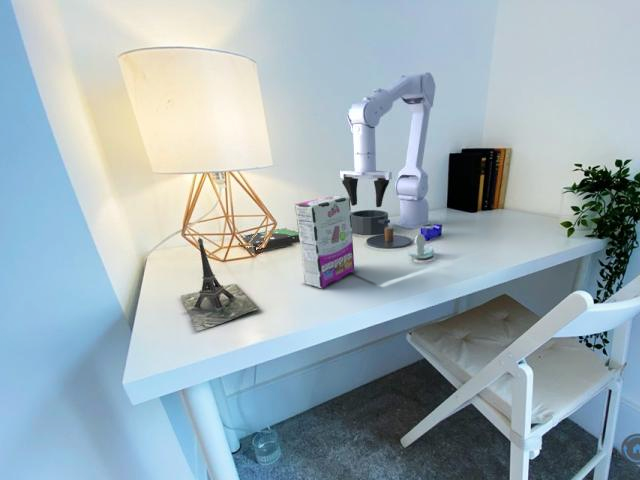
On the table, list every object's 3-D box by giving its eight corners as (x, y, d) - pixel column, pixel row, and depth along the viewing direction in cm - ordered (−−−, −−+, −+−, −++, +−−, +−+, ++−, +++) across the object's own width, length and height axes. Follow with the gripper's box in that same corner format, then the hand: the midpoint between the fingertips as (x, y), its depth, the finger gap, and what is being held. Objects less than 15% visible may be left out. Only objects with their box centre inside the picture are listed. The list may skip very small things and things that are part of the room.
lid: (391, 235, 103) (391, 220, 101) (420, 244, 94) (421, 228, 93) (357, 243, 96) (356, 227, 94) (386, 253, 87) (386, 236, 85)
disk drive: (254, 254, 88) (304, 242, 97) (252, 244, 87) (302, 232, 96) (238, 246, 95) (285, 235, 104) (236, 236, 94) (284, 226, 103)
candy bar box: (337, 268, 78) (332, 194, 71) (355, 272, 75) (351, 196, 69) (302, 284, 69) (293, 202, 62) (321, 289, 67) (313, 205, 60)
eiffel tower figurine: (261, 312, 58) (248, 236, 53) (197, 331, 52) (174, 248, 47) (235, 285, 69) (221, 220, 64) (179, 299, 63) (159, 228, 58)
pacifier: (442, 260, 82) (424, 254, 86) (444, 235, 80) (425, 230, 84) (420, 267, 78) (403, 260, 82) (422, 241, 75) (403, 235, 80)
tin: (367, 224, 117) (367, 207, 114) (401, 234, 105) (401, 215, 102) (339, 230, 110) (338, 212, 108) (371, 241, 98) (371, 220, 96)
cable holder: (431, 235, 103) (432, 222, 102) (441, 237, 101) (442, 223, 99) (416, 241, 98) (416, 227, 96) (426, 243, 96) (426, 229, 94)
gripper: (333, 154, 89) (336, 206, 94) (384, 154, 84) (385, 210, 89) (346, 153, 95) (348, 202, 100) (394, 153, 90) (394, 205, 95)
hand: (366, 205), depth 95 cm, fingers open, 7 cm apart
